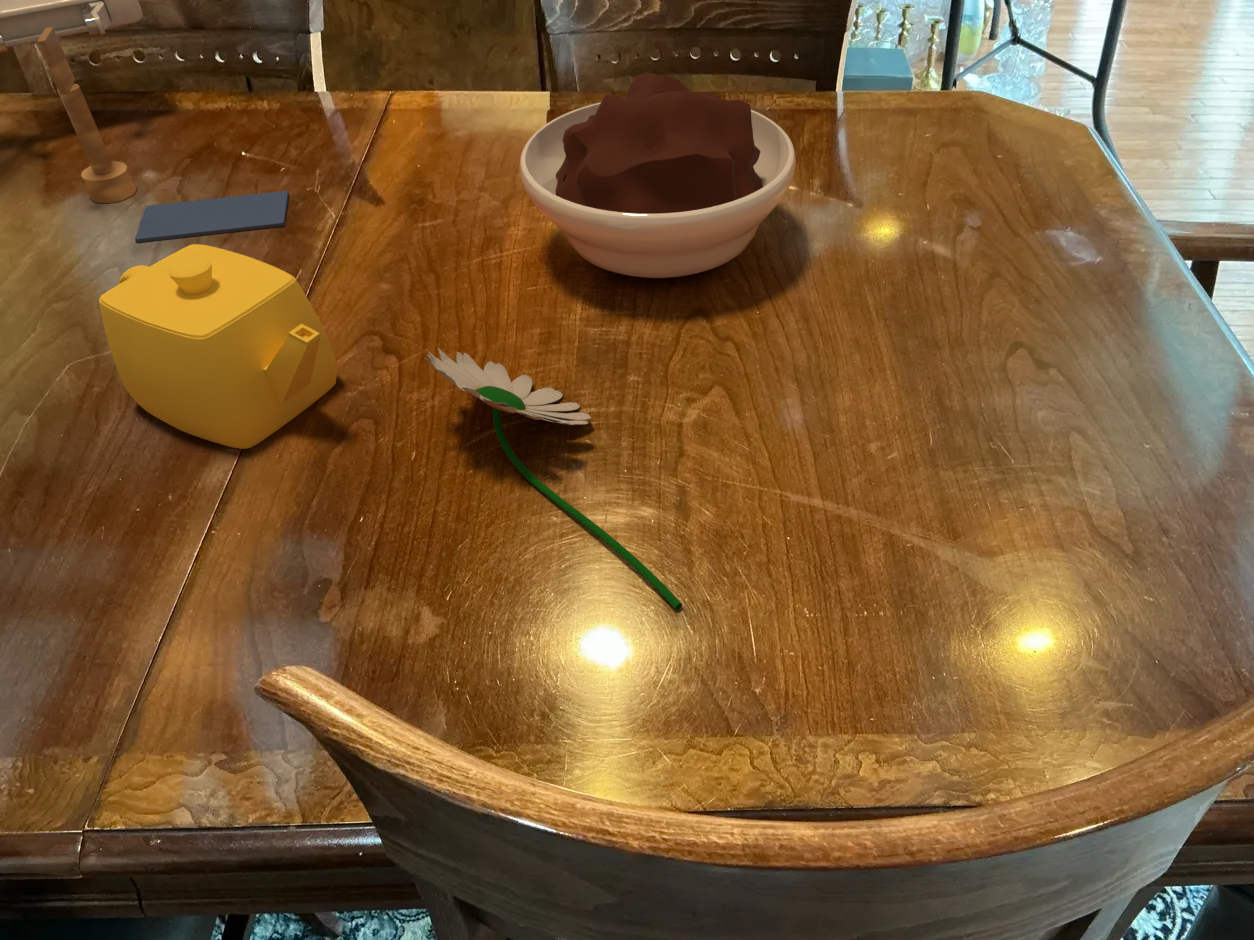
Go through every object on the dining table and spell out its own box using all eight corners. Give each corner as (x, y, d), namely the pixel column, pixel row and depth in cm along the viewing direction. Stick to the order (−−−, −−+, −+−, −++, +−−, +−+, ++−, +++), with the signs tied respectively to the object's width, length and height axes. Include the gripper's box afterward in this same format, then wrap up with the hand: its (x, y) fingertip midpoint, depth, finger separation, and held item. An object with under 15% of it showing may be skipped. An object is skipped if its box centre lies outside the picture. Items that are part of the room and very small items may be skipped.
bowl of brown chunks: (542, 332, 93) (518, 165, 83) (523, 198, 111) (501, 46, 100) (821, 299, 97) (832, 135, 86) (760, 174, 114) (763, 25, 103)
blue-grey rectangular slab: (136, 242, 105) (134, 239, 105) (147, 209, 110) (145, 205, 110) (284, 226, 107) (283, 222, 107) (289, 194, 112) (288, 190, 112)
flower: (630, 577, 64) (399, 311, 78) (590, 644, 66) (373, 373, 81) (764, 569, 74) (537, 335, 89) (726, 628, 76) (510, 390, 91)
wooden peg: (87, 205, 111) (14, 44, 99) (95, 186, 114) (25, 27, 102) (132, 200, 111) (64, 40, 100) (139, 181, 114) (74, 23, 103)
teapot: (394, 391, 87) (358, 261, 79) (282, 480, 80) (230, 346, 71) (218, 326, 94) (169, 201, 86) (100, 402, 87) (33, 272, 78)
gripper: (-91, -15, 114) (-82, 25, 105) (113, -49, 121) (137, -15, 113) (-59, 46, 118) (-49, 89, 110) (136, 10, 126) (159, 47, 117)
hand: (47, 36), depth 111 cm, fingers open, 8 cm apart
